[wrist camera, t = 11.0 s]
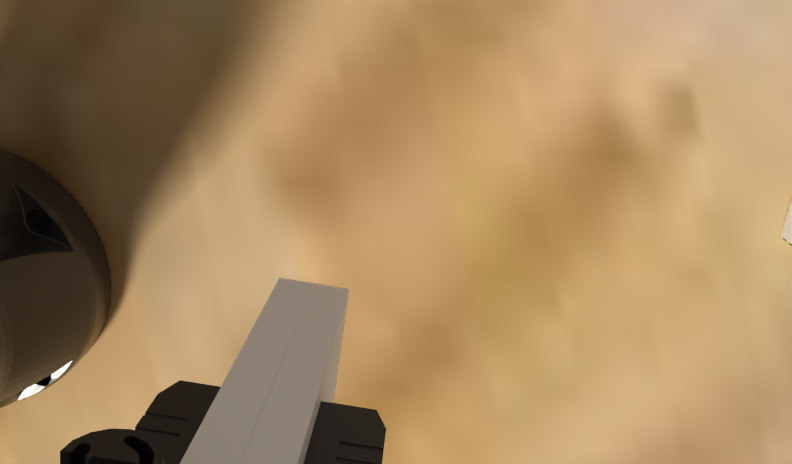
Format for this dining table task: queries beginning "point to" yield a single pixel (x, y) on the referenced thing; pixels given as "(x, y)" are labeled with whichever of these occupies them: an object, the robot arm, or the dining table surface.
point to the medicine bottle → (788, 226)
